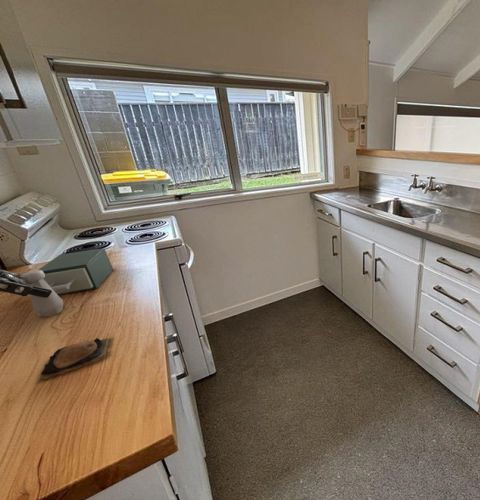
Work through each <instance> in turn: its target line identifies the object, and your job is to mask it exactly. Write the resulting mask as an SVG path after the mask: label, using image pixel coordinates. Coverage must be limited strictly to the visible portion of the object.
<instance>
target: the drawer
mask: <svg viewBox="0 0 480 500" xmlns="http://www.w3.org/2000/svg"><path fill="white" fill-rule="evenodd" d="M43 279H44V280H45V282H46V283H47V284H48V285H49V286H50V287H51V288H52V289H53V290H54V292H55V293H56V294H61V293H66V292H72V291H78V290H83V289H89V288H92V287H93V284H92V282H91V280H90V278H89V276H88V273H87V271H86V269H85V268H84V267H83V268H77V269H70V270H64V271H58V272H51V273H45V277H44V278H43Z"/></svg>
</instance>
